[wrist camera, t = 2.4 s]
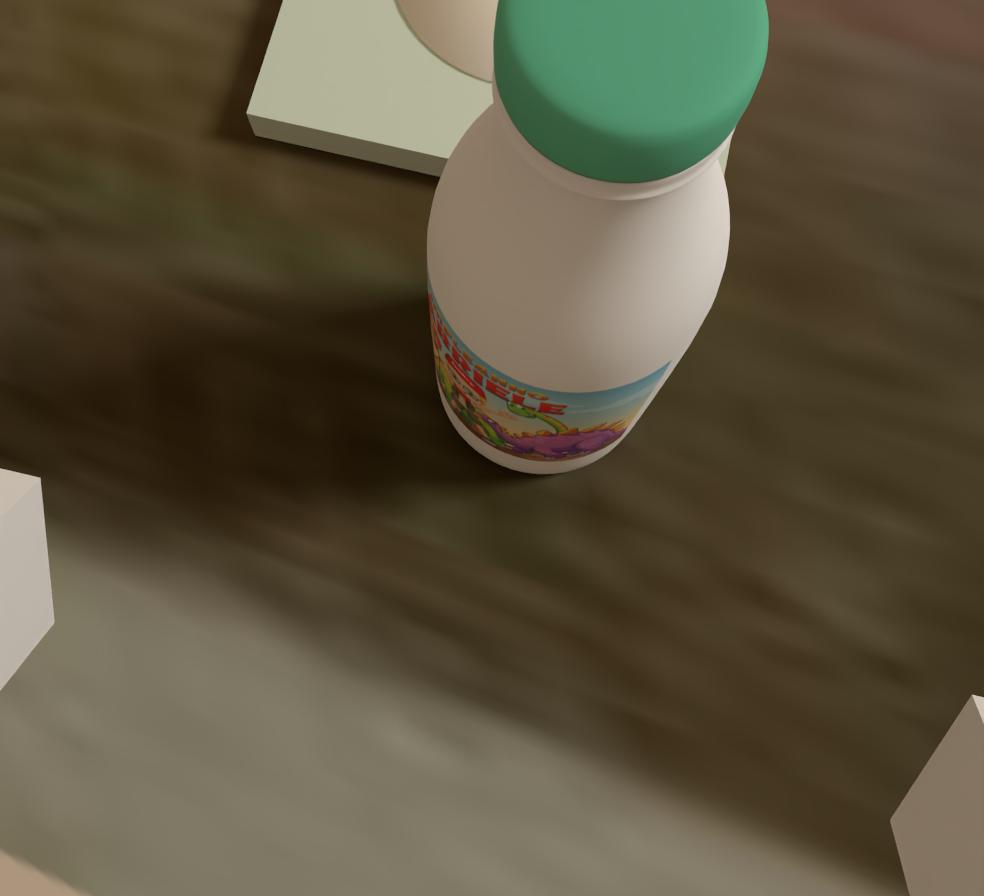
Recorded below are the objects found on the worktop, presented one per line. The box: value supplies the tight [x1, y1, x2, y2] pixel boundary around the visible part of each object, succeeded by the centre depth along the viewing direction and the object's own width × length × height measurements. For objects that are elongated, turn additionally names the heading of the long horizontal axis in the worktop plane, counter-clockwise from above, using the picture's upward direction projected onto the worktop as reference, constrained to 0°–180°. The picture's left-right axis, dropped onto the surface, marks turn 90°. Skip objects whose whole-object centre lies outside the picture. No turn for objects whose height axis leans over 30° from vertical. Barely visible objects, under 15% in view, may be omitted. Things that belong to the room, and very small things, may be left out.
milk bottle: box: [427, 0, 769, 474], centre depth 25 cm, size 8×8×20 cm
